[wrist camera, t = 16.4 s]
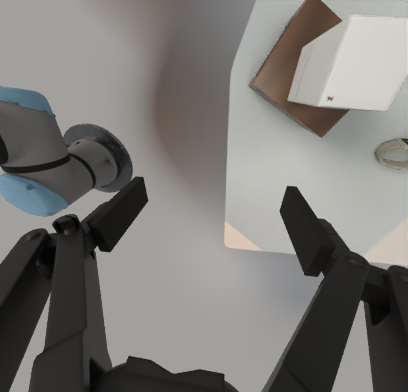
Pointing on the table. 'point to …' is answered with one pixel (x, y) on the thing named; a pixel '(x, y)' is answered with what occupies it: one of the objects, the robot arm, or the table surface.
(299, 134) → the table surface
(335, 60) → the white packaging box
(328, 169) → the table surface
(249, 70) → the table surface
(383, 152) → the wristwatch
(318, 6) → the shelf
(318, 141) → the table surface
